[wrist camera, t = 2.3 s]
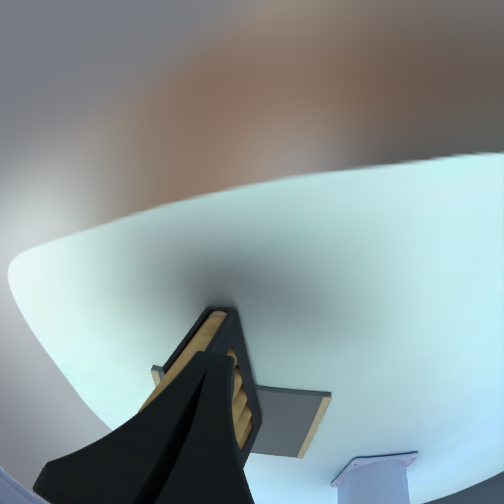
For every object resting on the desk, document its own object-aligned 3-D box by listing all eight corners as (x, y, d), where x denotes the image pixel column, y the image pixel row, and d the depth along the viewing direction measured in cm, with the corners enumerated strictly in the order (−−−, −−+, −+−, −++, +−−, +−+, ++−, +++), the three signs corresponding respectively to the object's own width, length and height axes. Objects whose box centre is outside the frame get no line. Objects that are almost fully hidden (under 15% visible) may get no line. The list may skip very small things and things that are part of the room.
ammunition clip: (206, 305, 16) (67, 478, 6) (236, 307, 16) (103, 503, 5) (240, 418, 20) (176, 546, 9) (262, 422, 19) (203, 557, 9)
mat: (302, 454, 23) (302, 458, 22) (173, 433, 24) (172, 437, 24) (331, 392, 18) (331, 398, 18) (153, 365, 19) (150, 370, 19)
